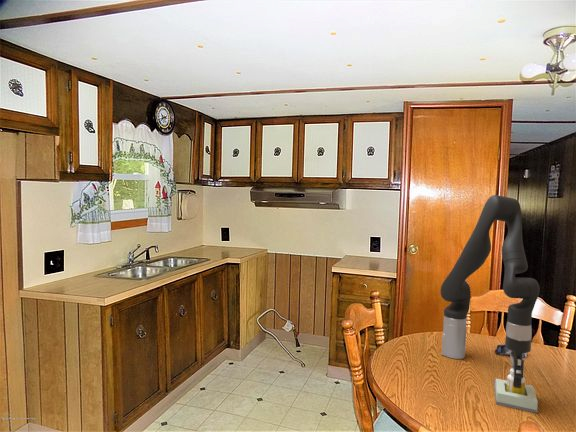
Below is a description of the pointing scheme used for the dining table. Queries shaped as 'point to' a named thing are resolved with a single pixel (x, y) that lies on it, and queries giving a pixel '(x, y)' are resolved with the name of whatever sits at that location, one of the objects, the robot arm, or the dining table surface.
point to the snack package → (504, 350)
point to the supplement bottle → (510, 383)
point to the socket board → (515, 397)
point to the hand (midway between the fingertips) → (515, 381)
